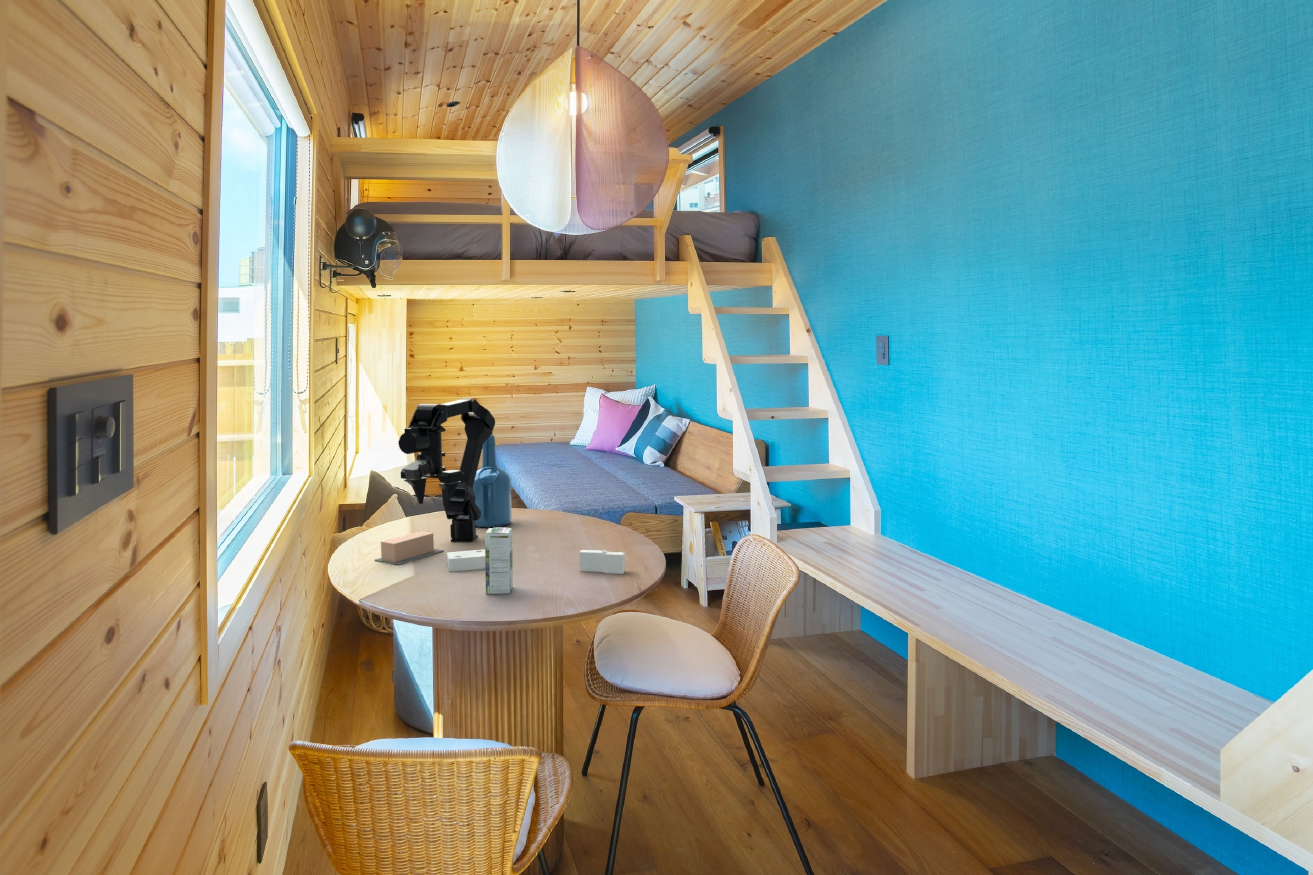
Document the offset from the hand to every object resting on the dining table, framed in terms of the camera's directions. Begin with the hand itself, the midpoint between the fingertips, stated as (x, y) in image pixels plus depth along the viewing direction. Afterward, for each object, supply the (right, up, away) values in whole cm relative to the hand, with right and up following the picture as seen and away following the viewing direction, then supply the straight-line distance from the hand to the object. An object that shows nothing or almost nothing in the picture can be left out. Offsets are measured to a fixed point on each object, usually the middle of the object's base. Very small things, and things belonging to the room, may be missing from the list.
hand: (433, 505), depth 226 cm
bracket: (+14, -15, -14) cm, 25 cm away
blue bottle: (+9, -9, +36) cm, 38 cm away
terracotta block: (-2, -10, +2) cm, 10 cm away
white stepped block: (+48, -16, -20) cm, 55 cm away
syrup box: (+25, -17, -35) cm, 47 cm away
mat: (-5, -14, -4) cm, 15 cm away
